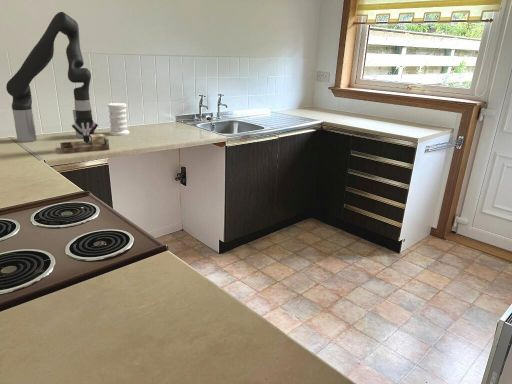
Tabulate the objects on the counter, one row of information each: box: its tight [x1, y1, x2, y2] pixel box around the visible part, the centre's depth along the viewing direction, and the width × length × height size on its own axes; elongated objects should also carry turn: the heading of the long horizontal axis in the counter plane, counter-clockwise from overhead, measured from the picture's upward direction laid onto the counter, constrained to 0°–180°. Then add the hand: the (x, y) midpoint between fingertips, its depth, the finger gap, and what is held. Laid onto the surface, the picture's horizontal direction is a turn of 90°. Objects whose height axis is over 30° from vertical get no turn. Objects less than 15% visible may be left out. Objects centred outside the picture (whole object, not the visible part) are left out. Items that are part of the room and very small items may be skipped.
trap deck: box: [59, 133, 110, 154], centre depth 204 cm, size 22×14×6 cm, turn 120°
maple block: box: [89, 133, 105, 145], centre depth 207 cm, size 6×6×4 cm
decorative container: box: [107, 102, 130, 136], centre depth 239 cm, size 12×12×18 cm
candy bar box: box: [72, 109, 95, 139], centre depth 228 cm, size 11×5×16 cm, turn 168°
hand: (86, 142), depth 204 cm, fingers closed
